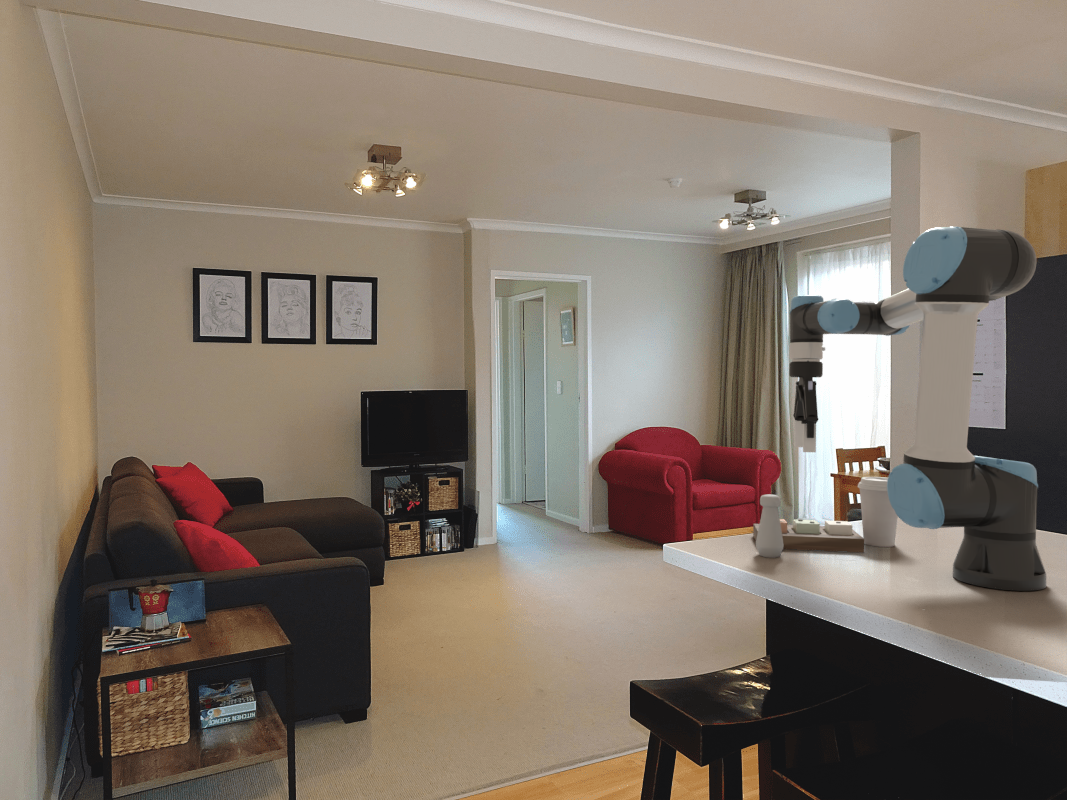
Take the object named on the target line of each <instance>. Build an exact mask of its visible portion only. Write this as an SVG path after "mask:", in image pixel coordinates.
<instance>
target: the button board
mask: <svg viewBox="0 0 1067 800" xmlns="http://www.w3.org/2000/svg"><path fill="white" fill-rule="evenodd" d="M759 524H760V523H753V525H752V527H753V529H752V531H753V532H752V534H753V535H752V536H753V539H754V540H755V541H756V539H757V534H758V529H759ZM782 538H783V544H784V547H783V550H790V549H797V550H796V551H814V550H821V552H838V551H847V552H846V553H863V552H864V553H865V544H864V538H863V536H861V535H860V534H859V532H856V531H855V530H854V529H853V528H852V535H831V534H827V533H826V532H825V525H824V526H823V525H820V534H805V533H795V531H794V530H793V524H787V533H782ZM822 550H824V551H822Z"/></svg>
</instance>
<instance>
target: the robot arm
mask: <svg viewBox="0 0 1067 800" xmlns="http://www.w3.org/2000/svg"><path fill="white" fill-rule="evenodd" d="M1036 267H1037V255H1036V252H1035V248H1034V247H1033V245H1032V244H1031V243H1030V241H1029V240H1028V239H1027V238H1026V237H1024V236H1022V234H1019V233H1018V232H1015V231H1011V230H1008V229H993V228H977V227H965V226H953V225H952V226H939V227H934V228H930V229H927V230H925V231H924V232H922V233H921V234H919V236H918V237H917V238H916V239H915V241H913V242H912V243H911V245H910V247H909V248H908V250H907V253H906V255H905V257H904V262H903V266H902V277H903V280H904V282H906V283H905V286H906V287H907V288H906V289H904V290H902V291H900V292H897V293H895V294H892V295H891V296H888V297H885V298H883V299H881V300H877V301H870V300H869V301H868V300H867V301H864V300H862V301H861V300H859V301H856V300H851V299H847V298H833V299H831V300H825V301H824V297H823V296H821V295H816V294H806V295H805V294H804V295H795V296H793V297H792V298H791V300H790V310H789V350H788V351H789V352H788V353H789V354H788V356H789V357H788V358H789V360H791V361H790V363H789V368H788V369H789V371H788V372H789V373H788V374H789V375H788V376H789V377H791V378H798V380H796V382H795V395H794V396H795V397H794V407H793V408H794V409H793V414H792V415H793V418H794V442H793V443H794V445H793V446H794V448H802V452H803V453H816V452H817V447H816V446H817V422H818V421H819V417H818V415H819V413H818V412H819V411H818V401H817V381H816V380H814V379H813V378H822V377H823V368H824V367H823V365H824V363H823V362H822V361H821V360H823V354H824V353H823V352H824V351H826V347H825V346H823V345H824V344H823V343H824V335H840V334H841V335H871V336H872V335H873V336H875V335H876V336H877V335H879V336H886V337H889V336H894V335H895V336H896V335H902V334H904V333H905V332H906V331H907V329H909V328H910V327H911V325H913V324H916V323H919V322H922V334H921V335H922V336H921V344H920V345H921V347H920V348H921V349H920V357H919V358H920V361H919V372H918V373H919V374H918V387H917V396H916V397H917V399H916V409H915V410H916V412H915V425H914V426H915V427H914V435H913V436H914V438H913V443H912V444H911V445H910V446H909V447H908V448H906V449H905V450H904V453H903V460H902V463H900V464H899V465H896V466H894V467H893V468H892V469H891V472H889V474H888V476H887V478H888V481H887V492H888V497H889V501H890V504H891V506H892V508H893V509H894V510H895V513H896V514H897V516H898V518H899V519H900V520H901V521H902V522H903V523H905V524H906V525H908V526H910V527H913V528H918V529H930V530H937V529H938V530H939V529H943V528H945V529H946V528H963V538H962V541H961V542H960V546H959V547H958V550H957V553H956V555H955V559H954V561H953V563H952V577H953V578H954V579H956V580H957V581H960V582H963V583H967V584H969V585H973V586H978V587H982V588H988V589H995V590H1004V591H1015V592H1016V591H1018V592H1019V591H1020V592H1021V591H1022V592H1028V591H1029V592H1031V591H1039V590H1043V589H1045V588H1046V587H1047V572H1046V570H1045V566H1044V563H1043V561H1042V558H1041V555H1040V553H1039V549H1038V546H1037V541H1036V540H1037V516H1038V515H1037V513H1038V512H1037V509H1038V490H1039V483H1038V476H1037V475H1038V474H1037V472H1038V471H1037V468H1036V467H1035V466H1034V464H1031V463H1029V462H1025V461H1017V460H1011V459H1010V460H1009V459H1002V458H1001V459H1000V458H994V457H987V456H981V455H979V456H978V455H974V454H973V453H972V452H970V450H969V449H968V436H969V435H968V434H969V426H970V425H969V423H970V411H971V402H972V401H971V400H972V399H971V398H972V391H973V390H972V387H973V376H974V367H975V366H974V364H975V353H976V341H977V329H978V318H979V314H980V313H981V312H982V311H983V310H985V308H987V307H988V306H989V304H990V302H993V301H995V300H999V299H1002V298H1004V297H1007V296H1009V295H1012V294H1015V293H1017V292H1019V291H1021V290H1022V289H1023V288H1024V287H1026V285H1028V283H1029V282H1030V281H1031V280H1032V278H1033V276H1034V275H1035V272H1036V269H1037V268H1036Z"/></svg>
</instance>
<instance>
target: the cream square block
mask: <svg viewBox="0 0 1067 800" xmlns="http://www.w3.org/2000/svg"><path fill="white" fill-rule="evenodd" d="M824 526H825V532H826V533H827V534H831V535H852V529H853V524H851V523H850V522H849V521H847V520H845V521H844V520H824Z"/></svg>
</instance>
